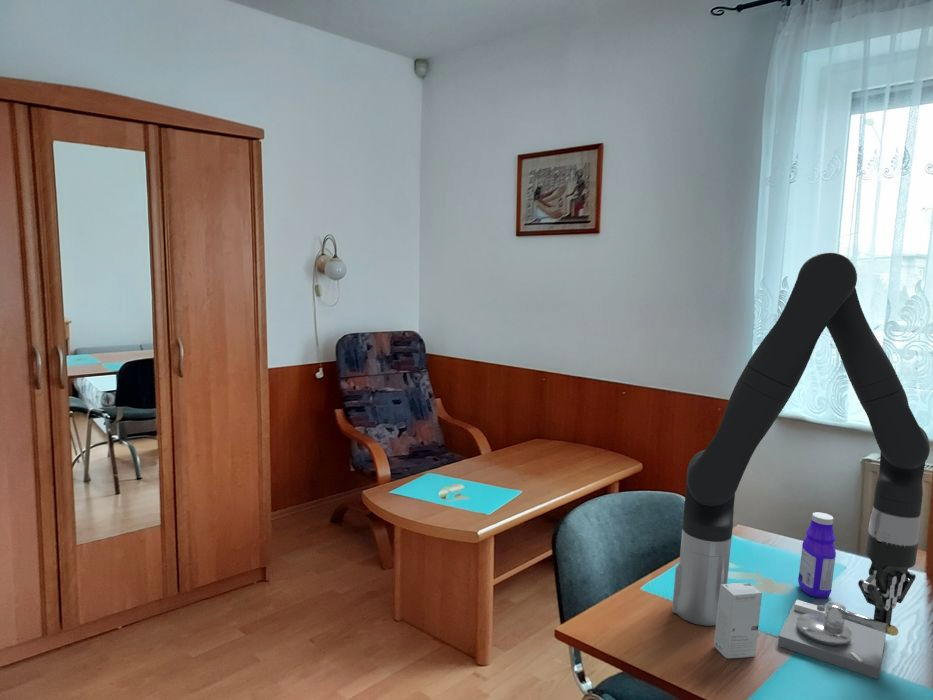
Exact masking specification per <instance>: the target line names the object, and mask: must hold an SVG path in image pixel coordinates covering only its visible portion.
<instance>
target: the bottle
mask: <svg viewBox="0 0 933 700" xmlns="http://www.w3.org/2000/svg"><path fill="white" fill-rule="evenodd" d="M833 525H834V517H833V516H832V515H830V514H828V513H826V512H825V513H824V512H818V511H817V512H816V511H815V512H812V515H811V522H810V525H809V527H808V528H807V529H806V531H805V534H806V537H804V539H803V541H802V545H801V546H802V548H801V555H800V556H801V557H800V563H799V571H798V577H797V578H798V579H797V580H798V582H797V583H798V585H799V588H800V589H801V590H802V591H804V593H805V594H806V595H808V596H810V597H812V598H818V599H819V598H820V599H823V598H829V597H830V595H831V593H832V586H833V580H834V571H835V563H836V558H837V557H836V556H837V555H836V554H837V552H836V547H835V543H834V542H835V541H836V540H837V538H836V536H835V533H834V529H833V527H834V526H833Z"/></svg>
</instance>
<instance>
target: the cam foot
mask: <svg viewBox="0 0 933 700" xmlns="http://www.w3.org/2000/svg"><path fill="white" fill-rule="evenodd" d="M824 608H825V616H824V615H820V614H803V615H800V616H799V617H798V619H797V629H798V630H799V631H800V632H801V633H802V634H803V635H804V636H806V637H807V638H809V639H811V640H813V641H816V642H819V643H822V644H826V645H831V646H844V645H847V644H849V643H850V642H851V636H852V632H851V630H850V629H849V628H848V627H847V626H846V625H845V624H844V619H845V620H848V621H851V622H854V623H857V624H860V625H863V626H866V627H869V628H872V629H875V630H878V631H881V632H884V633H886V635H890V636H892V637H893V636H894V637H895V636H898V634H899V632H900V631H899V629H898V627H897V626H895V625H893V624H886V623H883V622H880V621H877V620H874V618H871V617H868V616H864V615H860V614H858V613H854V612H851V611H850V610H849V611H848V610H846V609H847V607H846V606H845V605H843V604H842V603H840V602H836V601H827V602H826V603H825V607H824Z"/></svg>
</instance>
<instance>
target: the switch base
mask: <svg viewBox="0 0 933 700" xmlns="http://www.w3.org/2000/svg"><path fill="white" fill-rule="evenodd" d="M825 608H826V607H825V606H824V605H822V604H819V605H818V604H814V603H812V602H811V603H809V602H806V601H804V600H800V599H796V601H794V603H793V605H792V607H791V609H790V610H789V611H790V612H789V613H788V616H787V618H786V620H785V622H784V624H783V626H782V629H781V630H780V632H779V635H778V639H777V640H778V642H777V646H778V647H780V648H784V649H787V650H790V651H792V652H795V653H799V654H801V655H805V656H808V657H811V658H814V659H816V660H819V661H823V662H826V663H829V664H831V665H834V666H837V667H840V668H843V669H846V670H850V671H852V672H855V673H859V674H861V675H865V676H867V677H870V678H873V679H876V680H879V677H880V671H881V667H882V660H883V654H884V648H885V643H886V642H885V641H886V635H887V634H886V633H884V632H881V631H878V630H875V629H872V628H869V627H866V626H863V625H860V624H857V623H854V622H851V621H848V620H845V619H844V624H845V625H846V626H847V627H848V628H849V629H850V630H851V632H852V636H851V642H850V643H849V644H847V645H844V646H831V645H826V644H822V643H819V642H816V641H813V640H811V639H809V638H807V637H806V636H804V635H803V634H802V633H801V632H800V631H799V630H798V629H797V619H798V617H799V616H800V615H803V614H820V615H824V616H825Z"/></svg>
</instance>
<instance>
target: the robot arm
mask: <svg viewBox="0 0 933 700" xmlns="http://www.w3.org/2000/svg"><path fill="white" fill-rule="evenodd" d="M857 283H858V273H857V269H856V267H855V265H854V263H853V262H852V261H851V259H849V258H848V257H847V256H846V255H843V254H841V253H839V252H832V251H831V252H830V251H829V252H821V253H817V254H816V255H813V256H812V257H810V258H809V259H807V260H806V261H805V262H804V263H803V264H802V266H801V268H800V269H799V271H798V274H797V278H796V281H795V283H794V286H793V288H792V291H791V293H790V295H789V297H788V300H787V301H786V303H785V306H784V308H783V310H782V312H781V314H780V316H779V317H778V319H777V321H776V322H775V323H774V325H773V326H772V327H771V328H770V330H769V332H768V333H767V334H766V335H765V336H764V338H763V339H762V341H760V344H759V345H758V347H757V348H756V350H755V351H754V352H753V354H752V355H751V357H750V358H749V360H748V362H747V363H746V365H745V367H744V369H742V372H741V374H740V376H739V378H738V379H737V382H736V383H735V385H734V388H733V390H732V392H731V395H730V396H729V400H728V402H727V404H726V408H725V410H724V414H723V416H722V419H721V422H720V424H719V426H718V429H717V431H716V433H715V435H714V436H713V438H712V439H711V441H710V442H709V444H708V445H707V447H706V448H705V449H704V450H700V451H699V452H697V453H695V454H694V455H693V456H692V458H691V459H690V461H689V462H688V466H687V471H686V482H685V483H686V484H685V496H684V505H683V513H682V514H683V515H682V528H681V538H680V539H681V540H680V541H681V542H680V551H679V553H680V554H679V563H678V564H677V565H676V567H675V572H674V583H673V584H674V585H673V596H672V604H671V605H672V606H671V607H672V608H671V612H672V613H674V614H676V615H677V616H679V617H680V618H682V619H683V620H685V621H687V622H689V623H692V624H695V625H698V626H707V627H708V626H709V627H713V626H716V620H717V611H718V601H719V591H720V585H721V584H728V577H729V568H730V558H731V547H732V538H733V528H734V515H735V514H734V511H735V510H734V509H735V501H736V500H735V499H736V498H735V497H736V492H737V490H738V487H739V485H740V483H741V481H742V477H743V476H744V473H745V471H746V469H747V467H748V465H749V463H750V461H751V458H752V456H753V455H754V453H755V451H756V449H757V447H758V445H760V443H761V442H762V440H763V438H764V437H765V436H766V435H767V434H768V432H769V430H770V429H771V428H772V427H773V425H774V423H775V422H776V420H777V419H778V417H779V415H780V414H781V413H782V411H783V409H784V408H785V406H786V405H787V403H788V402H789V400H790V398H791V397H792V395H793V392H794V391H795V390H796V388H797V386H798V384H799V382H800V381H801V378H802V377H803V374H804V372H805V370H806V369H807V366H808V364H809V361H810V360H811V357H812V354H813V353H814V350H815V347H816V345H817V343H818V340H819V339H820V336H822V333H823V332H824V330H825V328H827V330H828V333H829V334H830V336H831V338H832V340H833V343H834V345H835V347H836V349H837V352H838V355H839V357H840V359H841V362H842V365H843V367H844V370H845V373H846V375H847V377H848V380H849V382H850V384H851V386H852V389H853V391H854V393H855V395H856V397H857V399H858V402H859V404H860V405H861V407H862V410H863V411H864V412H865V414H866V416H867V418H868V422H869V424H870V427H871V430H872V433H873V435H874V438H875V441H876V444H877V446H878V448H879V451H880V456H879V457H880V458H879V472H878V477H877V480H876V484H875V488H874V489H875V490H874V494H873V504H872V505H873V506H872V511H871V514H870V517H869V523H868V532H867V541H866V547H865V548H866V549H865V554H866V555H867V557H868V558H869V560H870V561H871V564H870V567H869V568H868V575H869V576H868V577H867V578H866V579H865V580H863V579H860V580H859V581H858V582H857V586H858V587H859V590H860V591H861V593H862V595H863V597H864V599H865V601H866V603H868V604H869V605H873V606H874V613H873V619H874V620H877V621H880V622H883V623H886V624H890V625H892V624H891V623H892V622H891V621H892V615H893V609H895V608H896V607H897V603H898V604H901V603H902V602H903V601H904V599H905V598H906V596H907V594H908V592H909V590H910V589H911V586H912V585H913V583H914V582H915V580H916V578H917V577H916V574H915V573H913V572H910V571H909V569H911V568H913V567H914V566H915V565H916V563H917V555H918V547H919V539H920V532H921V511H922V506H923V496H924V495H923V494H924V493H923V492H924V491H923V489H924V488H923V478H924V472H925V467H926V461H927V460H928V458H929V455H930V451H931V450H930V441H929V440H930V439H929V437H928V434H927V433H926V431H925V430H924V429H923V428H922V427H921V426H920V425H919V423H918V421H917V419H916V417H915V415H914V414H913V411H912V410H911V409H912V408H910V405H909V401H908V397H907V394H906V391H905V389H904V387H903V384H902V383H901V380H900V378H899V376H898V374H897V372H896V369H895V368H894V366H893V364H892V362H891V360H890V359H889V357H888V355H887V353H886V352H885V350H884V349H883V346H882V345H881V344H880V342H879V340H878V338H877V337H876V335H875V334H874V332H873V331H872V328H871V326H870V324H869V322H868V320H867V318H866V316H865V314H864V311H863V309H862V306H861V304H860V299H859V296H858V292H857V289H856V286H857Z"/></svg>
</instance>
